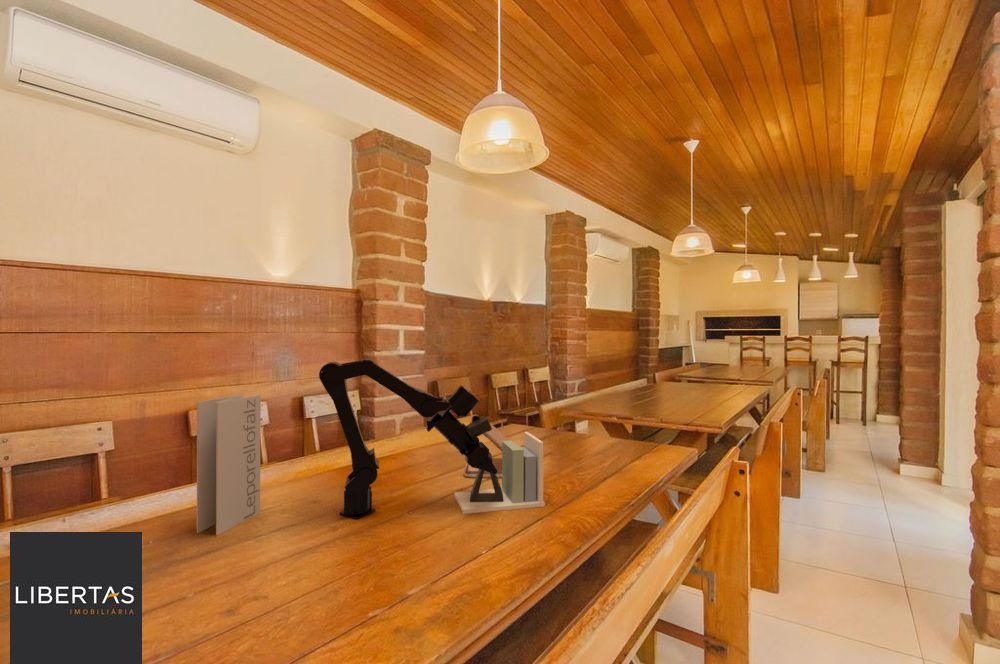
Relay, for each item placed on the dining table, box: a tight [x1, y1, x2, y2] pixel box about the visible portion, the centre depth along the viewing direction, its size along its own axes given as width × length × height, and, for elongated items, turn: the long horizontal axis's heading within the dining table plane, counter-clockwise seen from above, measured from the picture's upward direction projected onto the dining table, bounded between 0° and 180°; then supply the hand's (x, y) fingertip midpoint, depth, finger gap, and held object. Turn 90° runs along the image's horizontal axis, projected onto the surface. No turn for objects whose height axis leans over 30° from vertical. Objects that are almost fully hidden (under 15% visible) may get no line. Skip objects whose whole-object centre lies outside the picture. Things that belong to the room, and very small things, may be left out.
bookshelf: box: [453, 431, 546, 515], centre depth 133 cm, size 22×14×17 cm, turn 105°
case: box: [462, 421, 511, 479], centre depth 163 cm, size 20×21×16 cm
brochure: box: [196, 393, 261, 536], centre depth 117 cm, size 14×6×30 cm, turn 168°
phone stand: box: [470, 451, 504, 502], centre depth 132 cm, size 9×6×12 cm, turn 92°
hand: (492, 468), depth 132 cm, fingers open, 8 cm apart
